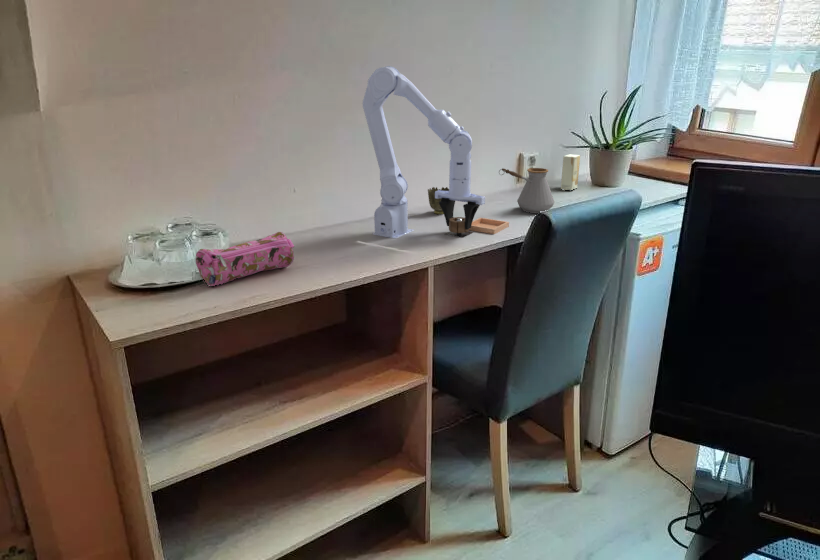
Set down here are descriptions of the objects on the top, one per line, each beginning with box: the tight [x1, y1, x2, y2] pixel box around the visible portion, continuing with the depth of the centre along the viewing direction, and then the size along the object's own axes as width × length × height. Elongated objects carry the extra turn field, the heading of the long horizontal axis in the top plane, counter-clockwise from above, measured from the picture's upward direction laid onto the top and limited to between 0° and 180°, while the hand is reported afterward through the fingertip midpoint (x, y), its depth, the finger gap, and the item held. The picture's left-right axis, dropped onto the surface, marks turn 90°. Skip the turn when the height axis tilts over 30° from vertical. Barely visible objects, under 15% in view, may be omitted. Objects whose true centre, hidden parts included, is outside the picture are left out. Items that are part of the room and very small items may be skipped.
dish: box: [469, 217, 510, 235], centre depth 176 cm, size 9×9×2 cm
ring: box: [448, 216, 470, 233], centre depth 170 cm, size 5×5×3 cm
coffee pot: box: [498, 167, 555, 214], centre depth 191 cm, size 21×12×15 cm, turn 125°
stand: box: [444, 218, 475, 238], centre depth 171 cm, size 6×6×5 cm
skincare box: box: [560, 153, 581, 191], centre depth 221 cm, size 6×4×12 cm
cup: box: [427, 186, 449, 216], centre depth 191 cm, size 8×7×8 cm
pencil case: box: [195, 231, 295, 287], centre depth 141 cm, size 21×9×9 cm, turn 131°
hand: (458, 226), depth 171 cm, fingers closed on ring, 5 cm apart
